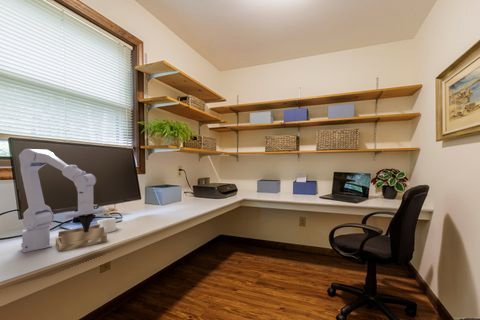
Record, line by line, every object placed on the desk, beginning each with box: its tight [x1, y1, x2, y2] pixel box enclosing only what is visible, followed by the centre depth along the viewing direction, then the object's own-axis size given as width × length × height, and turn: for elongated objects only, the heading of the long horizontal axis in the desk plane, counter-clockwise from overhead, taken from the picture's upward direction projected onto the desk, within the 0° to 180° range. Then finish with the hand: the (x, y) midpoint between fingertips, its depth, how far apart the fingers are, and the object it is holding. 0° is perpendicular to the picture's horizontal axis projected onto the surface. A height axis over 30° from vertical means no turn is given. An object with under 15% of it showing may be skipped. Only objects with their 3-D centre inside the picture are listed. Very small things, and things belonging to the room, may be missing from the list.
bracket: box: [97, 217, 117, 234], centre depth 122 cm, size 20×9×7 cm, turn 146°
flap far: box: [57, 223, 100, 238], centre depth 111 cm, size 17×4×1 cm
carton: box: [55, 233, 108, 252], centre depth 108 cm, size 18×13×3 cm
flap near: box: [61, 227, 105, 244], centre depth 104 cm, size 17×4×1 cm
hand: (86, 231), depth 100 cm, fingers closed
